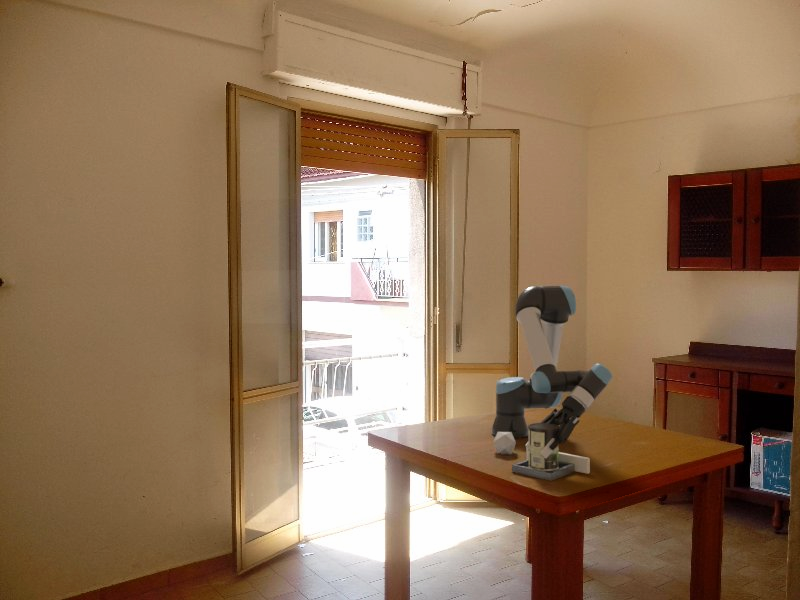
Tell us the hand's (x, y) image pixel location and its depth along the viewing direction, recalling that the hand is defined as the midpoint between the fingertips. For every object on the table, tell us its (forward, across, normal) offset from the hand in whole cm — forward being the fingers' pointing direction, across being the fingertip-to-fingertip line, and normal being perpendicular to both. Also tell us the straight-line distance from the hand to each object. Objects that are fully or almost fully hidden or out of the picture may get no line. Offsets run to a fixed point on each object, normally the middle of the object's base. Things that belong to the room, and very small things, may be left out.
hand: (535, 451), depth 239 cm
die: (+4, +27, -6) cm, 28 cm away
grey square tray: (+3, 0, -7) cm, 8 cm away
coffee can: (+2, 0, -6) cm, 6 cm away
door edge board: (-2, +4, -12) cm, 13 cm away
